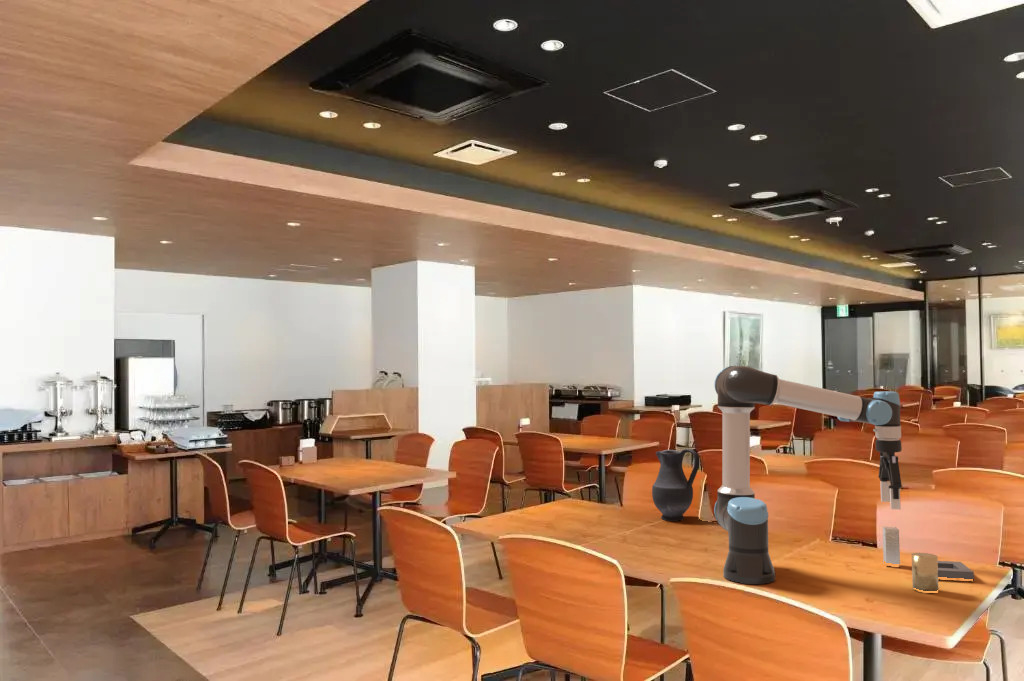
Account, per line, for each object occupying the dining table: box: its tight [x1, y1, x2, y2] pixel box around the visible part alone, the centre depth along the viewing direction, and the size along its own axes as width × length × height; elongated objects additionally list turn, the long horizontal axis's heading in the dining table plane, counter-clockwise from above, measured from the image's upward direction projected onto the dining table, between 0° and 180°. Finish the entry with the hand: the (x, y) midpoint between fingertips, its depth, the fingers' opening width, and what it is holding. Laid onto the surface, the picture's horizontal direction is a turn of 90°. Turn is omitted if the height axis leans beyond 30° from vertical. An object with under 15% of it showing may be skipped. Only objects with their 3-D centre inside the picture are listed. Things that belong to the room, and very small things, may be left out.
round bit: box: [911, 552, 940, 591], centre depth 215 cm, size 6×6×10 cm
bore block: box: [938, 560, 975, 580], centre depth 229 cm, size 12×12×3 cm
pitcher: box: [651, 448, 700, 522], centre depth 319 cm, size 17×21×30 cm
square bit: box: [882, 526, 901, 565], centre depth 242 cm, size 4×4×12 cm
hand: (890, 505), depth 242 cm, fingers open, 13 cm apart
